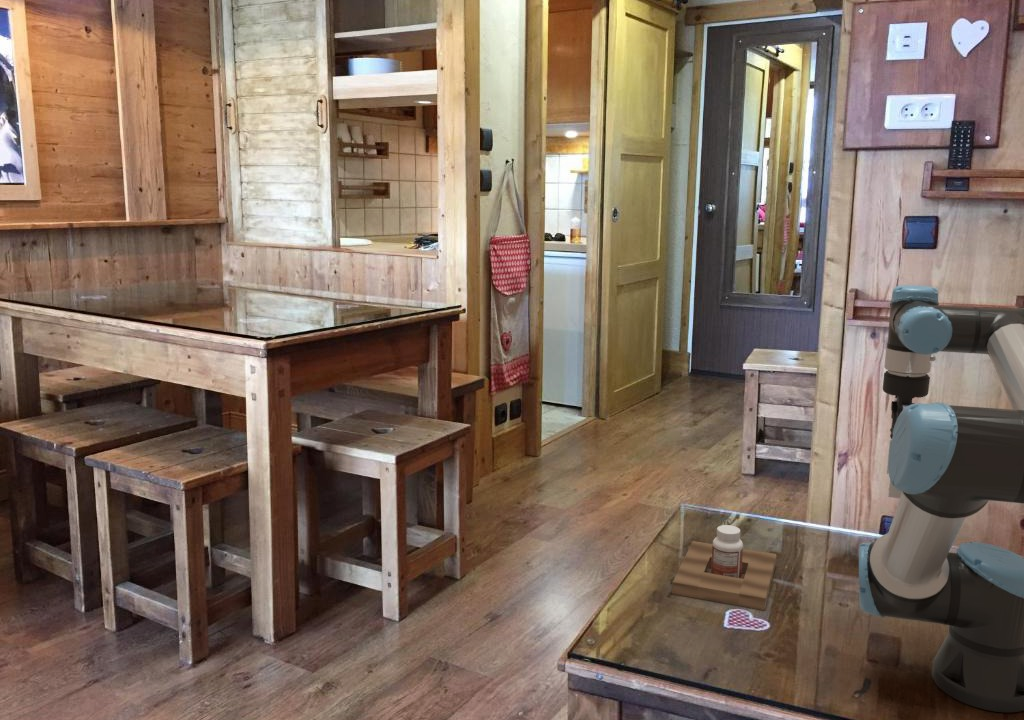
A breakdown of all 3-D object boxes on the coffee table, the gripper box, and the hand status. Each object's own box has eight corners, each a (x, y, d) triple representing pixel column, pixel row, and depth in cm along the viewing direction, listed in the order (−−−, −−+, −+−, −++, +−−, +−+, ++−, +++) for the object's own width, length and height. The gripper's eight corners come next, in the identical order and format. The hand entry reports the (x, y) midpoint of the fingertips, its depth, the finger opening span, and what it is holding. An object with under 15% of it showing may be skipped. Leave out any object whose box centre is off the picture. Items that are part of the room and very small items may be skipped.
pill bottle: (723, 569, 186) (726, 520, 184) (747, 580, 182) (750, 530, 179) (704, 578, 182) (707, 528, 180) (728, 588, 178) (731, 537, 176)
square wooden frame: (764, 610, 169) (765, 598, 168) (672, 593, 175) (672, 582, 175) (775, 564, 189) (776, 554, 188) (692, 551, 195) (692, 541, 195)
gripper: (935, 389, 143) (921, 511, 148) (925, 360, 166) (914, 467, 170) (885, 385, 146) (874, 505, 150) (883, 357, 169) (873, 462, 173)
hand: (895, 485), depth 160 cm, fingers open, 13 cm apart
